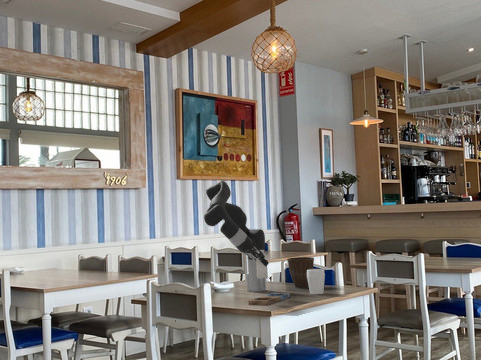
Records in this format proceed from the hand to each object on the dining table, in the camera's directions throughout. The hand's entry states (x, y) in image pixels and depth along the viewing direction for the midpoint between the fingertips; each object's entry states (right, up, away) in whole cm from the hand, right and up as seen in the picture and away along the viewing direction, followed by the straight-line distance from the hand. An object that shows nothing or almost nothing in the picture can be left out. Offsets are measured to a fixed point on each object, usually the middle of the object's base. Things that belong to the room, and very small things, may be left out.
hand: (264, 264), depth 274 cm
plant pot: (+23, -21, +55) cm, 63 cm away
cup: (+27, -19, +26) cm, 42 cm away
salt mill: (-1, -6, -1) cm, 6 cm away
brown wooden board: (+3, -18, +4) cm, 19 cm away
